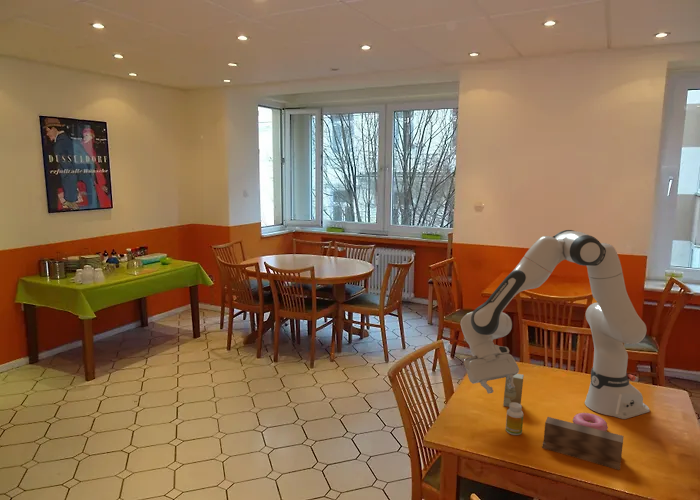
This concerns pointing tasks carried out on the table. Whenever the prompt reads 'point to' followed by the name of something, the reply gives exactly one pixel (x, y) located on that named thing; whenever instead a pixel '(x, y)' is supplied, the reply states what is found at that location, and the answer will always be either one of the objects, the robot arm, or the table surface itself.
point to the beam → (583, 442)
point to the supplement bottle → (514, 419)
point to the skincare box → (513, 390)
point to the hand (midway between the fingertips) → (501, 390)
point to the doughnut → (590, 421)
